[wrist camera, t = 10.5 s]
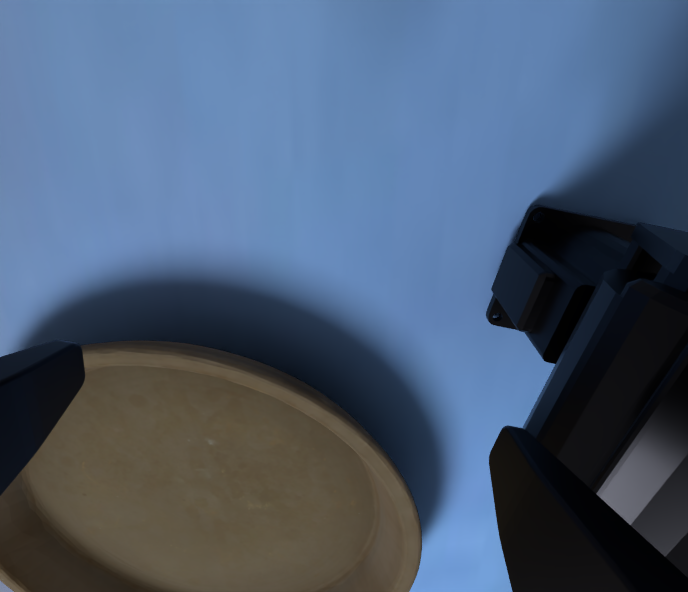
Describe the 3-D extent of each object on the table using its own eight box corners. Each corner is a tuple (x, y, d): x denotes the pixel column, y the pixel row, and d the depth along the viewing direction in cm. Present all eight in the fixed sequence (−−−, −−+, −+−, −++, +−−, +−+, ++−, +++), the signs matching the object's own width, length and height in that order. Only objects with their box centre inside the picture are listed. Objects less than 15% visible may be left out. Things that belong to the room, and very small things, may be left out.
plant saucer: (458, 341, 23) (477, 393, 19) (383, 625, 36) (385, 691, 32) (-65, 281, 23) (-160, 318, 19) (53, 583, 36) (12, 643, 32)
